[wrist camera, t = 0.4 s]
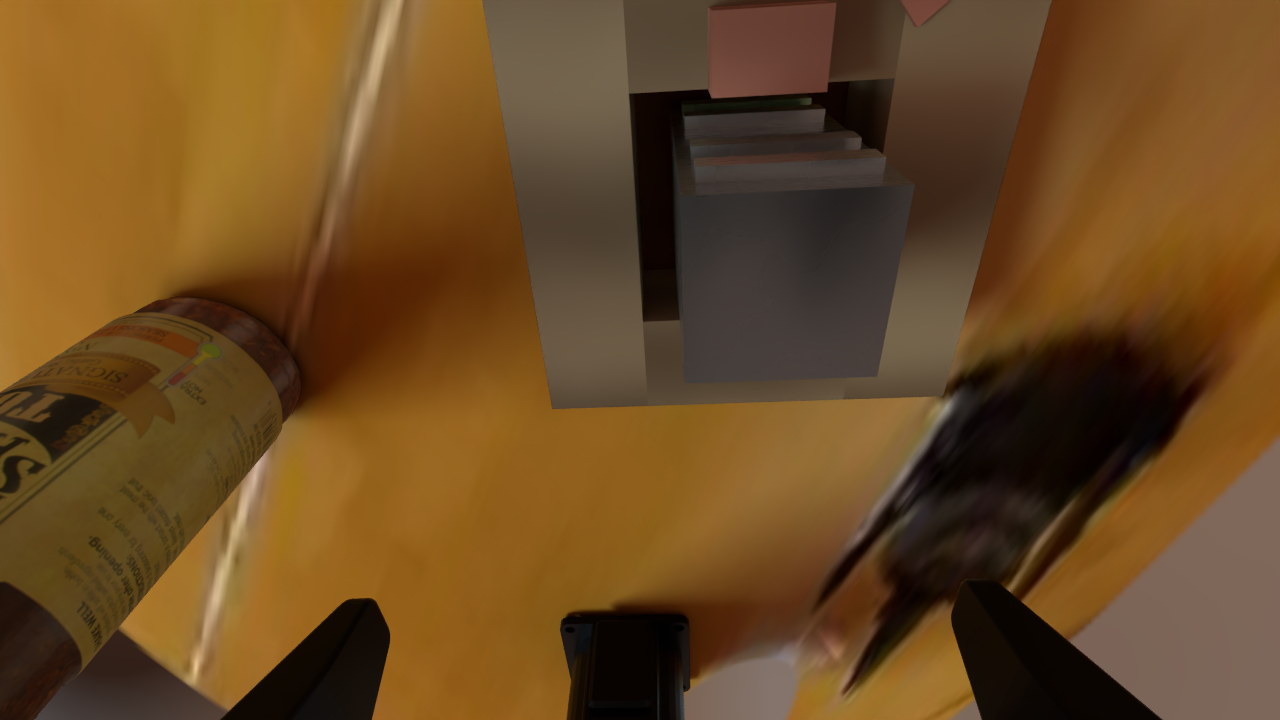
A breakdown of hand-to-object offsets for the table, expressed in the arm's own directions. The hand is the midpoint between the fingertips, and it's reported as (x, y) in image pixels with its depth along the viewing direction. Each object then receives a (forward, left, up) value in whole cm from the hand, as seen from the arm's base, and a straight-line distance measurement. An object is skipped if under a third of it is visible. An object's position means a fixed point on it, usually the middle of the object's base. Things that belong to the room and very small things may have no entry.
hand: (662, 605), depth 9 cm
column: (+3, -3, -13) cm, 13 cm away
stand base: (+3, -3, -13) cm, 13 cm away
